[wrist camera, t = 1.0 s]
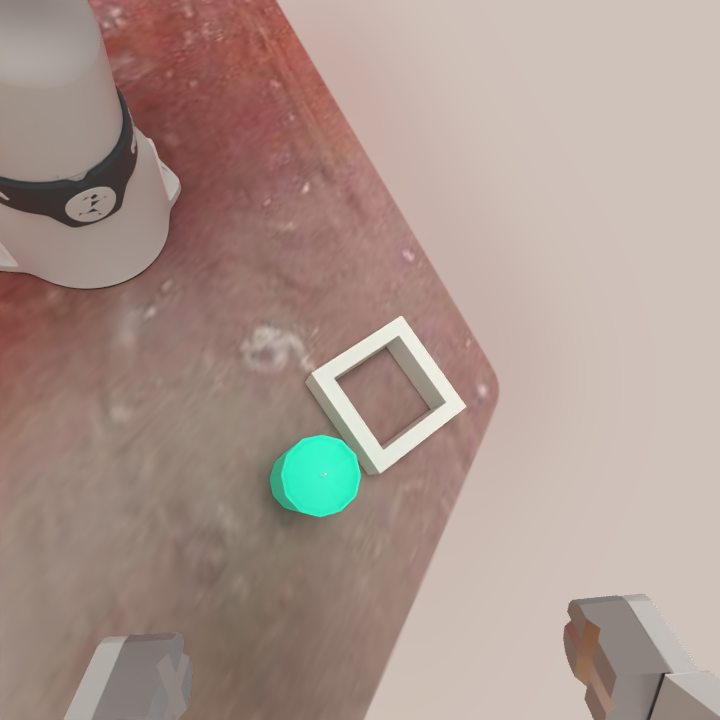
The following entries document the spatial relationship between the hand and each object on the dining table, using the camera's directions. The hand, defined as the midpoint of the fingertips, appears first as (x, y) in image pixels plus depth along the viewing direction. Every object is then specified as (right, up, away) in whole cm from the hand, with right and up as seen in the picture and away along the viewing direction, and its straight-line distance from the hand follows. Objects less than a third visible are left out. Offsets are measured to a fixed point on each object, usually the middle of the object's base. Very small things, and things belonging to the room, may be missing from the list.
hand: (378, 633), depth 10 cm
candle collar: (+2, +2, +39) cm, 40 cm away
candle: (-6, -5, +36) cm, 37 cm away
